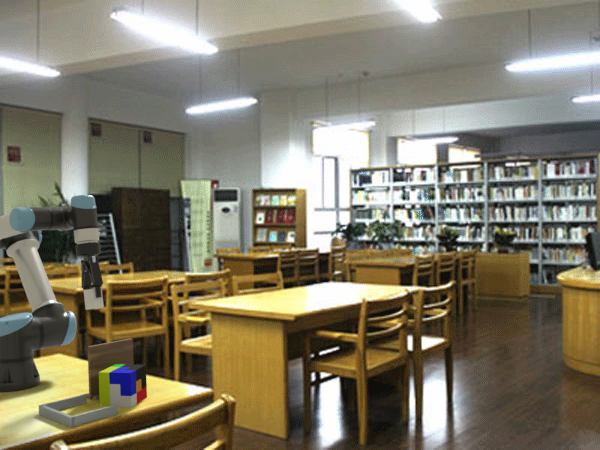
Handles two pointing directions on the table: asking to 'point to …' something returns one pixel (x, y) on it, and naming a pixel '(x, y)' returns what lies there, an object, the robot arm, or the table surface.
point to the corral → (52, 413)
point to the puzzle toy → (122, 385)
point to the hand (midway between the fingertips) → (94, 309)
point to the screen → (106, 361)
